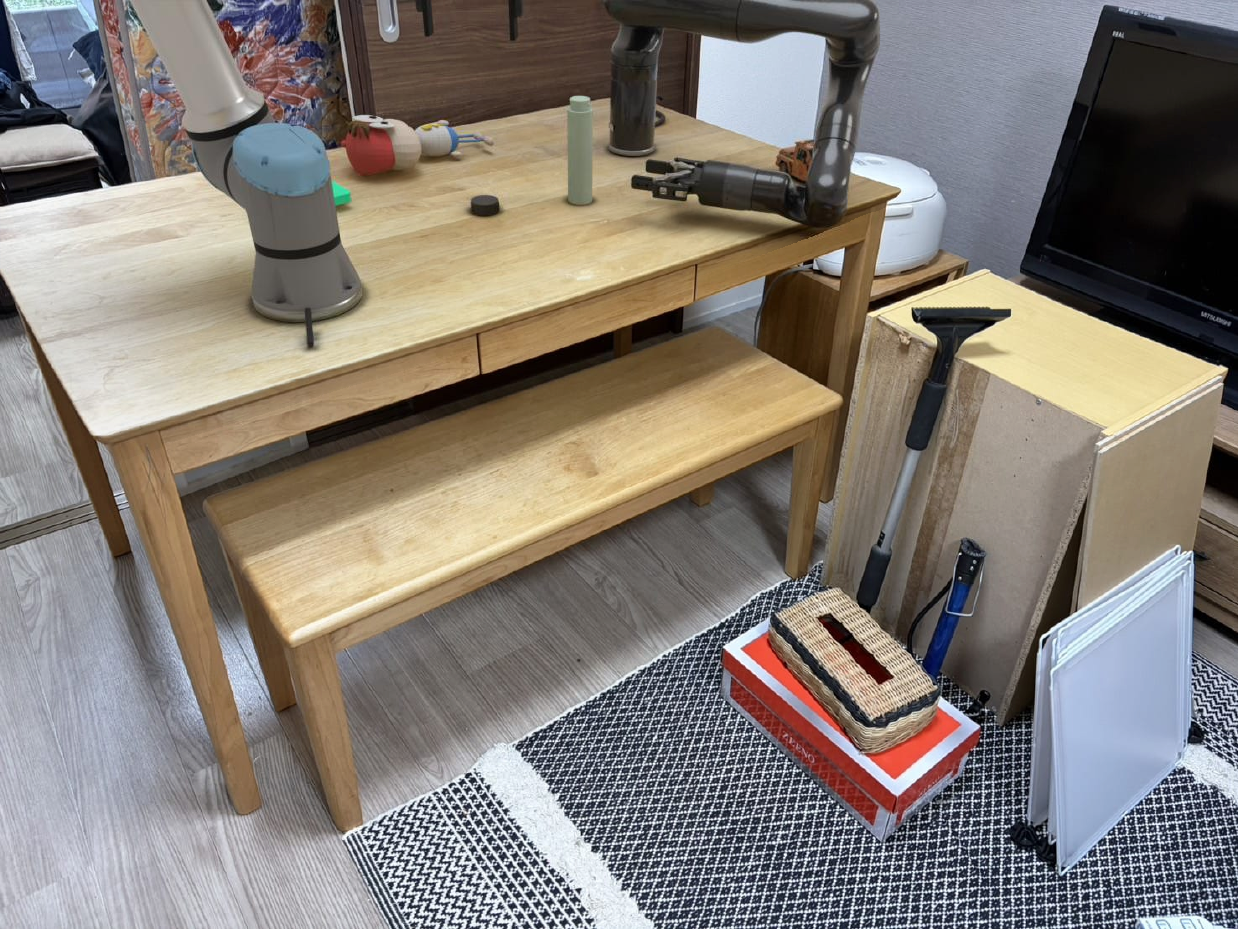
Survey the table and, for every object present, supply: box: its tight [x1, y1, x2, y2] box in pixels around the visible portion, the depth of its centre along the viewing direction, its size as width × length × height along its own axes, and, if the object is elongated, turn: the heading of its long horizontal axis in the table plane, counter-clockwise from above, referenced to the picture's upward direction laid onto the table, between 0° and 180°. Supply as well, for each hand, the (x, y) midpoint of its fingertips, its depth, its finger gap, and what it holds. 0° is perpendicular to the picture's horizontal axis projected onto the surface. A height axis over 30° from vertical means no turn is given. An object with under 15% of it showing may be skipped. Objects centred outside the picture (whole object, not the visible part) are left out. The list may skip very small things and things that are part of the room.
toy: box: [340, 114, 495, 176], centre depth 180 cm, size 18×10×30 cm
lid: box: [470, 194, 500, 217], centre depth 163 cm, size 5×5×2 cm
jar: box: [566, 95, 594, 206], centre depth 163 cm, size 4×4×18 cm
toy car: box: [774, 138, 814, 183], centre depth 178 cm, size 6×12×7 cm, turn 39°
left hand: (471, 37), depth 146 cm, fingers open, 13 cm apart
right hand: (639, 173), depth 162 cm, fingers open, 8 cm apart
